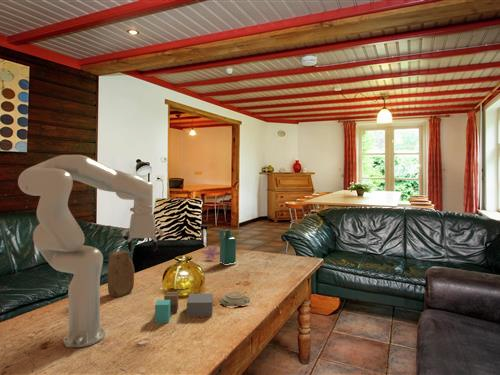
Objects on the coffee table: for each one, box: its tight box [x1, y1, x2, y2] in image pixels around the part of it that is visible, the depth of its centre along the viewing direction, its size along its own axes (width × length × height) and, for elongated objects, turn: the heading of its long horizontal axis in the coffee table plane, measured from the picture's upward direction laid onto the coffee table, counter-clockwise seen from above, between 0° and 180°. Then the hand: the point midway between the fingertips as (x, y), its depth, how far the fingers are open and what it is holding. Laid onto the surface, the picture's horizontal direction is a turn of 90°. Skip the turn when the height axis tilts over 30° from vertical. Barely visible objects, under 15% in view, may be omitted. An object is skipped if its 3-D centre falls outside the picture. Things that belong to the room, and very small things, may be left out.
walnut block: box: [163, 291, 179, 314], centre depth 136 cm, size 5×5×7 cm
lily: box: [201, 244, 220, 260], centre depth 220 cm, size 12×12×10 cm
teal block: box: [154, 299, 171, 324], centre depth 127 cm, size 5×5×7 cm
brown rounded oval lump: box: [107, 249, 135, 298], centre depth 155 cm, size 11×8×20 cm
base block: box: [186, 293, 214, 318], centre depth 136 cm, size 10×10×6 cm
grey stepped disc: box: [218, 291, 251, 307], centre depth 147 cm, size 15×4×15 cm
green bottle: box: [218, 229, 237, 264], centre depth 209 cm, size 10×8×22 cm
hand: (142, 250), depth 140 cm, fingers open, 9 cm apart
